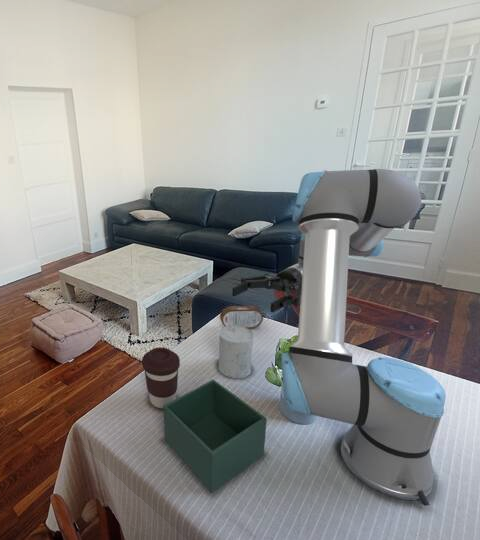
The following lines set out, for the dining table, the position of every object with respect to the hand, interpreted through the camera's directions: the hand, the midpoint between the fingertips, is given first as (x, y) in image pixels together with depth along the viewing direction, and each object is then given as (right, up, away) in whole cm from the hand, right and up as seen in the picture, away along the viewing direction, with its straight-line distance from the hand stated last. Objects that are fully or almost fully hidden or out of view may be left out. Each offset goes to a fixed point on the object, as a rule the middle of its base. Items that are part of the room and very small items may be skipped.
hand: (251, 299), depth 102 cm
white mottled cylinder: (-5, -21, +2) cm, 22 cm away
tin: (+5, -12, +23) cm, 27 cm away
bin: (-18, -32, -24) cm, 44 cm away
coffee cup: (-28, -27, -8) cm, 40 cm away
